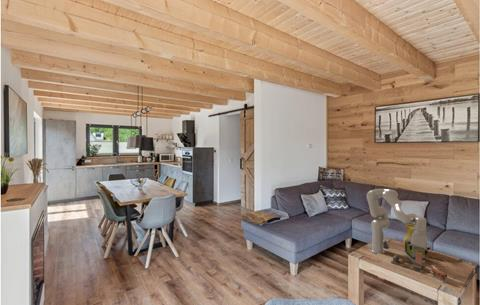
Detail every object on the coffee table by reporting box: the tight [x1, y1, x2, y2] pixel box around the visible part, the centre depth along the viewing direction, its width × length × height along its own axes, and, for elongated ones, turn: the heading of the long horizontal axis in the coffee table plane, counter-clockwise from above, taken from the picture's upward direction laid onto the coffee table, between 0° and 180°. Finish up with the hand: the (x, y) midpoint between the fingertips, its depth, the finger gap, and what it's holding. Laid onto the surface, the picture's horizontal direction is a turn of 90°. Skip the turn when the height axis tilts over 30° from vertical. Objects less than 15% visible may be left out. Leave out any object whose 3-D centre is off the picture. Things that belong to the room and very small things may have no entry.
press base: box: [390, 253, 426, 274], centre depth 202 cm, size 22×12×6 cm, turn 43°
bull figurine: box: [429, 264, 448, 283], centre depth 186 cm, size 4×13×8 cm, turn 7°
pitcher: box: [402, 223, 415, 248], centre depth 229 cm, size 17×19×25 cm
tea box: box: [404, 240, 426, 264], centre depth 214 cm, size 15×10×15 cm
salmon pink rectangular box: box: [413, 252, 424, 270], centre depth 197 cm, size 5×8×13 cm, turn 133°
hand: (418, 252), depth 197 cm, fingers open, 9 cm apart
